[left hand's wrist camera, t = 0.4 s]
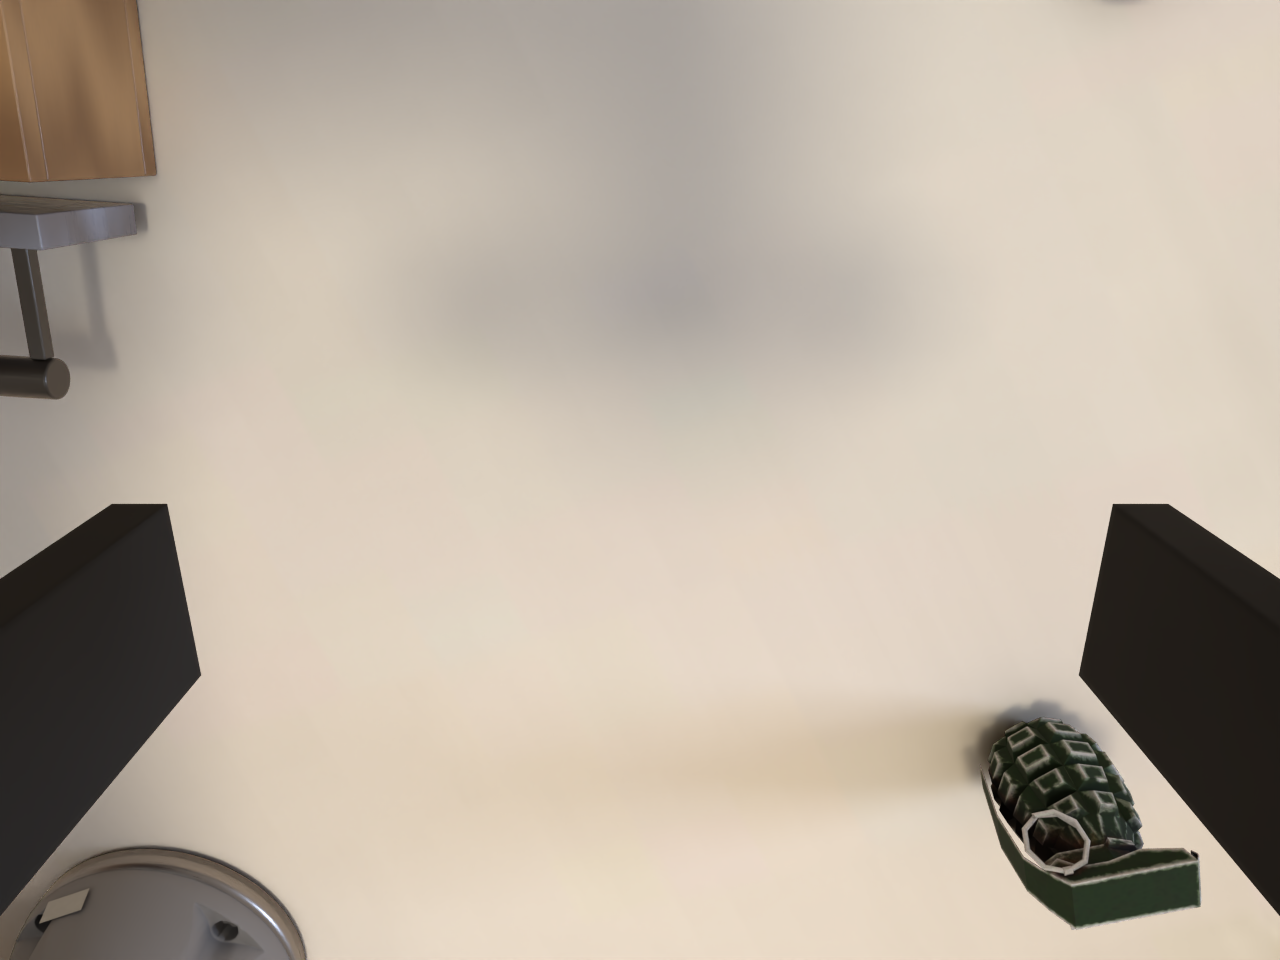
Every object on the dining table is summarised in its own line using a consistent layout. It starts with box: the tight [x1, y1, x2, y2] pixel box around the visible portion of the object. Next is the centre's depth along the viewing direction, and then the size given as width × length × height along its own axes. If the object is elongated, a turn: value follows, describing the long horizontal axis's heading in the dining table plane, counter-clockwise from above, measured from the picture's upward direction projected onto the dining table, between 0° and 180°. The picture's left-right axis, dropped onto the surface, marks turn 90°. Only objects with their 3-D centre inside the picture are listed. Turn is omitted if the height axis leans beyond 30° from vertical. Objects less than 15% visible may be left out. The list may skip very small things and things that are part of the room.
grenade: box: [980, 717, 1201, 930], centre depth 41 cm, size 7×6×10 cm
